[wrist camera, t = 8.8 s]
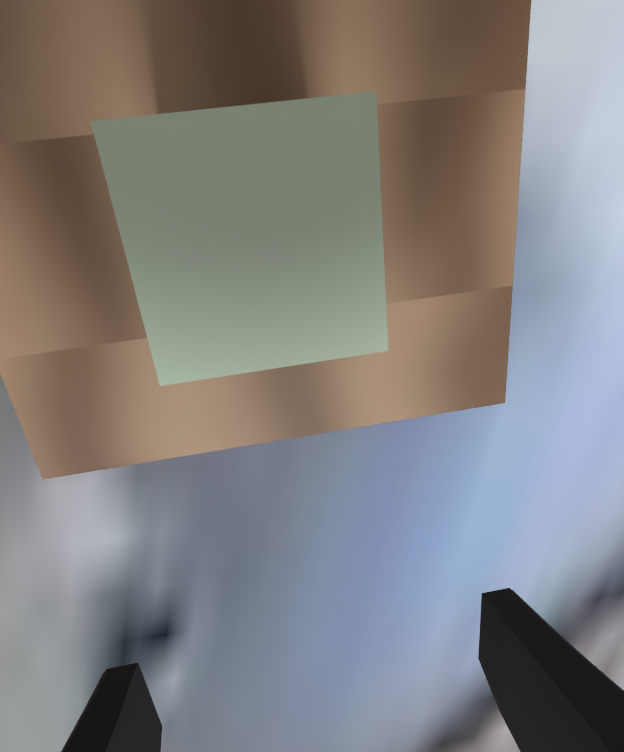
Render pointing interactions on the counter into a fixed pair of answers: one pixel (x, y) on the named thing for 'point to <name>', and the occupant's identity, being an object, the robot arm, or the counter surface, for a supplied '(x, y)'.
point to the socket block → (234, 88)
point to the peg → (252, 232)
